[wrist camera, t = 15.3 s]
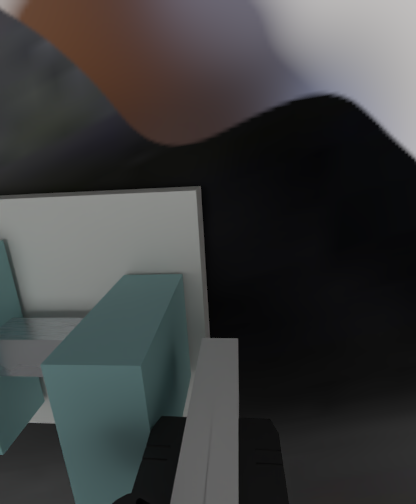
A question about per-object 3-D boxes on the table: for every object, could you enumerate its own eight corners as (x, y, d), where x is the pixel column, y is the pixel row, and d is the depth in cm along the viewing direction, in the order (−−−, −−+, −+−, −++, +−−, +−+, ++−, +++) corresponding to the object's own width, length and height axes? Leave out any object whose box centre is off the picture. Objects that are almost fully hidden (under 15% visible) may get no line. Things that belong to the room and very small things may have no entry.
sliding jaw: (178, 234, 15) (131, 301, 8) (193, 404, 18) (167, 555, 11) (-52, 242, 16) (-257, 304, 9) (-2, 399, 19) (-130, 532, 12)
